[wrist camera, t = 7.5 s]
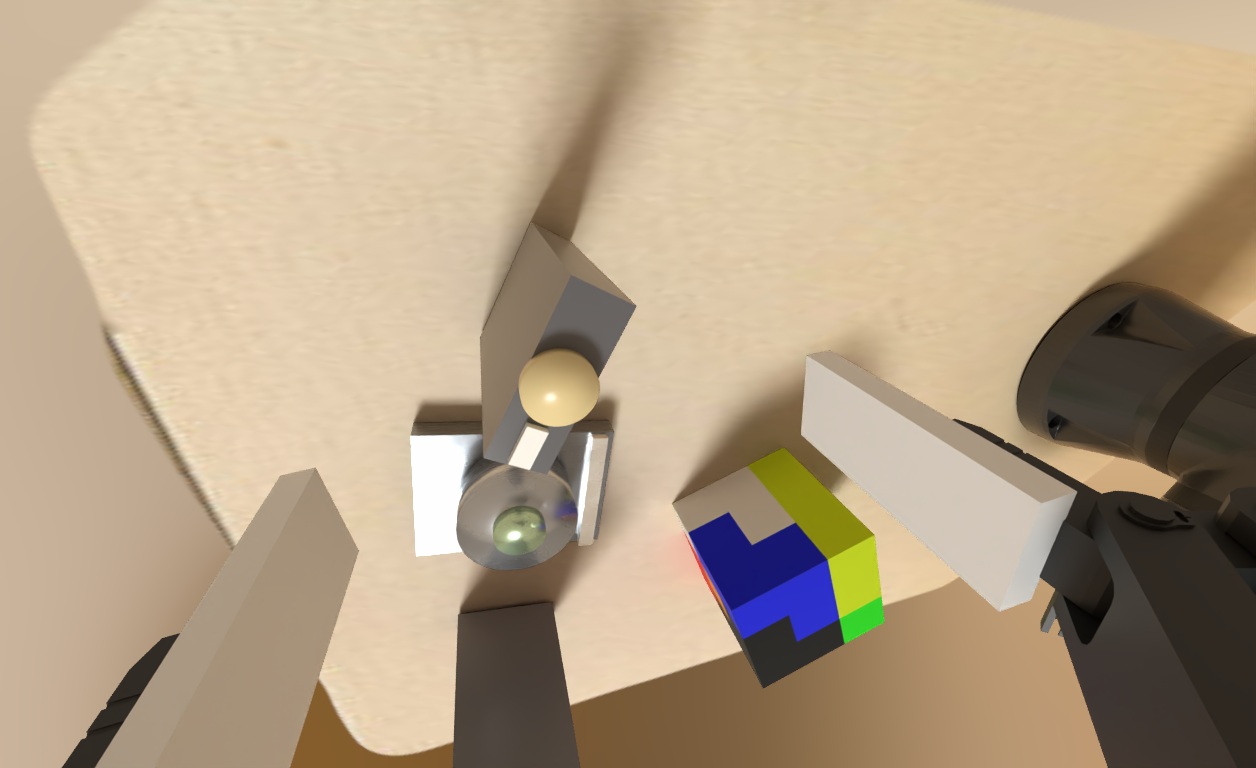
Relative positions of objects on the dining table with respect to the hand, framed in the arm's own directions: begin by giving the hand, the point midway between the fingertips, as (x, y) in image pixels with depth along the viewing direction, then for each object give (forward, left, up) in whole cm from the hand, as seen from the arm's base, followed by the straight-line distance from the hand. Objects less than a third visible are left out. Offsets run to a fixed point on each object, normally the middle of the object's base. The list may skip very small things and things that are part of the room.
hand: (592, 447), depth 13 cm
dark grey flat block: (0, 0, -16) cm, 16 cm away
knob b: (0, +26, -16) cm, 30 cm away
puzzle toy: (-19, +18, -16) cm, 31 cm away
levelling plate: (0, +13, -16) cm, 21 cm away
